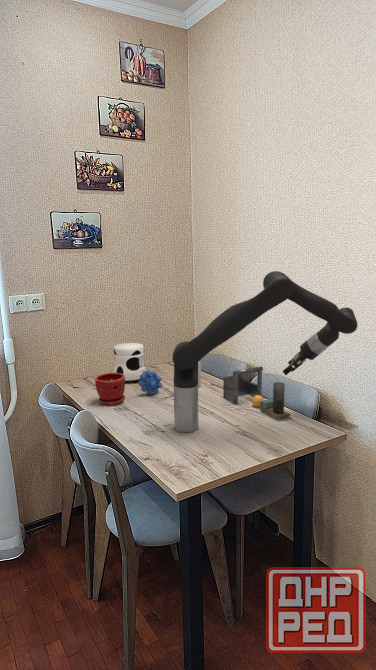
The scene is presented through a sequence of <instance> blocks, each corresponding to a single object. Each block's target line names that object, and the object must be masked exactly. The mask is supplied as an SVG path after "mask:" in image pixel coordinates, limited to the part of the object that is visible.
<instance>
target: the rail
mask: <svg viewBox="0 0 376 670" xmlns="http://www.w3.org/2000/svg"><path fill="white" fill-rule="evenodd" d="M259 411H260V412H261V413H264V414H265V415H267V414H268V416H269V415H270V417H271V416H272V418H273V417H274V419H275V418H276V420H277V419H278V420H277V421H279V420H280V422H281V421H282V422H285V421H284V420H286V421H289V420H288V419H290V420H292V417H291V416H288V417H284V418H277V417H275V416H273V415H271V414H269V413H267V412H265V411H263V410H261V409H260V408H259Z"/></svg>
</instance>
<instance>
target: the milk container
mask: <svg viewBox="0 0 376 670" xmlns="http://www.w3.org/2000/svg"><path fill="white" fill-rule="evenodd" d="M144 351H145V350H144V344H142V343H138V342H123V343H118V344H114V346H113V367H112V373H121V374H123V375H124V376H125V383H130V382H132V383H133V382H139V380H141V379H140V375H141V374H145V371H147V366H146V364H145V353H144ZM116 380H117V379H116Z"/></svg>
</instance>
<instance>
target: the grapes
mask: <svg viewBox="0 0 376 670" xmlns="http://www.w3.org/2000/svg"><path fill="white" fill-rule="evenodd" d="M140 379H141V380H138V381H137V382H138V385H139V386H140V390H141V392H143V393H147V395H149V396H151V395H153V394H158V393H159V389H161V388H162V387H163V384H162V382H161V381H162V377H161V376H160V375H158V374H157V372H156V371H154V370H152V371H150V370H148V369H146V371H145V374H141V375H140Z"/></svg>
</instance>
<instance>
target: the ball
mask: <svg viewBox="0 0 376 670" xmlns="http://www.w3.org/2000/svg"><path fill="white" fill-rule="evenodd" d="M263 400H265V399H264V398H263V395H262V396H260V395H256V396H254V397H253V396H252V399H251V403H252V404H253V406H255V407H259V408H260V401H263Z"/></svg>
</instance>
